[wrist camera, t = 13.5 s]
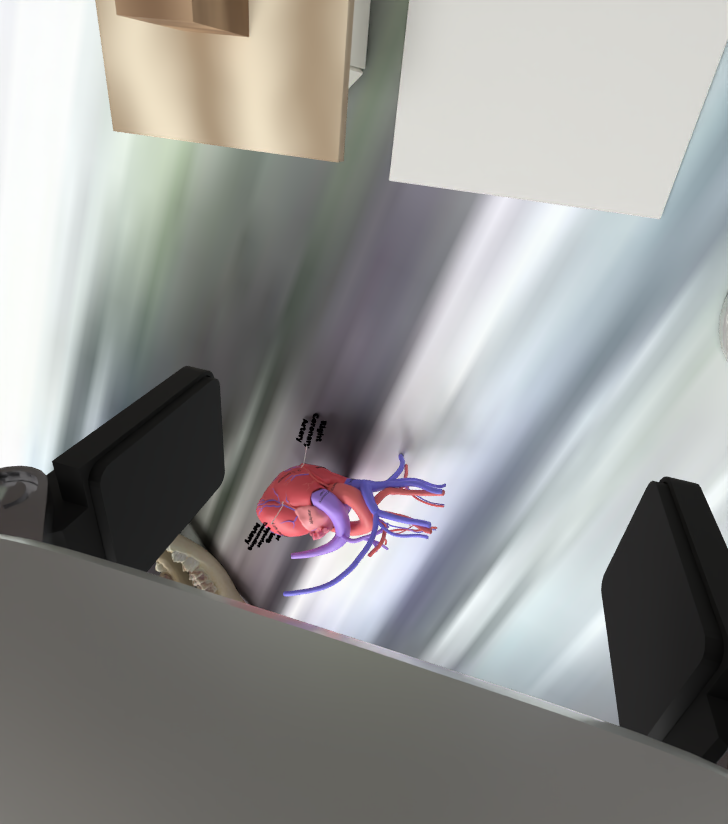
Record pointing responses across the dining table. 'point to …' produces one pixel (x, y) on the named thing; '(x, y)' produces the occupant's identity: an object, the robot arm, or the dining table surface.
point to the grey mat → (555, 97)
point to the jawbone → (195, 568)
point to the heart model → (335, 508)
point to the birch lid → (231, 72)
